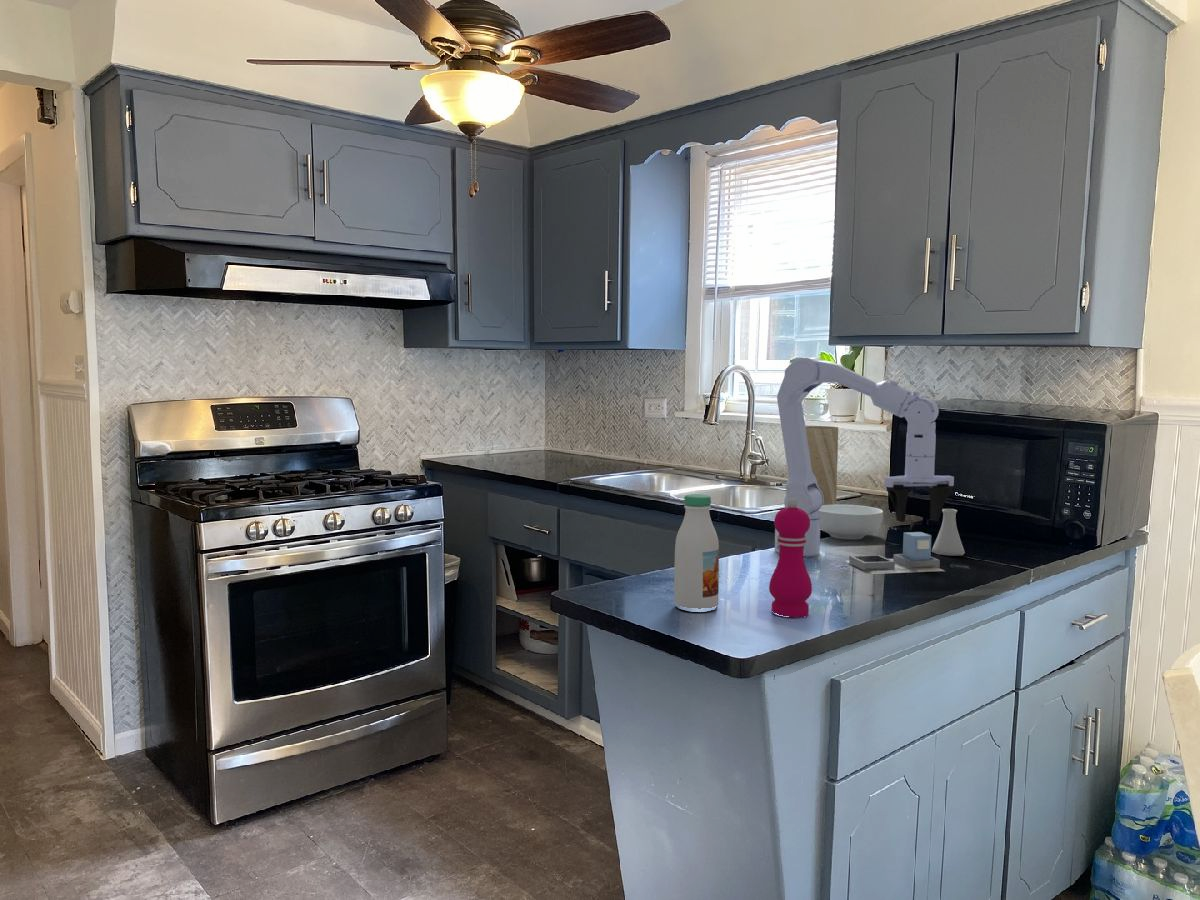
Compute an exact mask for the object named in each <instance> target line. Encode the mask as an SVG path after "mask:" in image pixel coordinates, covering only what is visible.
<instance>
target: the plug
mask: <svg viewBox="0 0 1200 900" xmlns="http://www.w3.org/2000/svg"><path fill="white" fill-rule="evenodd" d="M931 551H932V535H931V534H929V533H926V532H925V533H924V532H922V531H913V532H912V531H911V532H910V531H908V532H906V531H905V532H903V541H902V554H903V557H904V558H906V559H909V560H930V559H931V557H932V556H931V554H932V553H931Z"/></svg>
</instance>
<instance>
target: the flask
mask: <svg viewBox="0 0 1200 900" xmlns="http://www.w3.org/2000/svg"><path fill="white" fill-rule="evenodd" d="M941 513H942V514H943V515H942V516H943V517H942V523H941V526H940V529H939V531H938V534H937V537H936V539H935V541H934V543H933V546H932V547H931V552H932V553H934V554H937V555H940V556H941V555H942V556H949V557H950V556H951V557H952V556H953V557H956V556H964V554H965V553H966V551H965V549H964V546H963V542H962V540H961V538H960V534H959V531H958V527H957V521H956V520H957V518H956V515H957V513H958V510H957V509H954V508H942V511H941Z"/></svg>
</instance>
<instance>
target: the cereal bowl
mask: <svg viewBox="0 0 1200 900" xmlns="http://www.w3.org/2000/svg"><path fill="white" fill-rule="evenodd" d="M818 511H819V514H820V515H821V517H820V531H822V532H824V533H827V534H829V537H832V538H834V539H839V540H849V541H850V540H852V541H853V540H861V539H863V538H864V537H865V536H868V535H870V534H871V535H872V534H873V533H876V532H877V531H878V530H879V529H880V527H881V526H882V523H883V520H884V511H883V510H882V509H880V508H878V507H874V506H873V507H872V506H867V505H856V504H836V505H822V507H821V508H820V509H819V510H818Z"/></svg>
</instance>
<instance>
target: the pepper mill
mask: <svg viewBox="0 0 1200 900" xmlns="http://www.w3.org/2000/svg"><path fill="white" fill-rule="evenodd" d="M787 505H788V507H787V508H785V507H784V508H781V509H780V510H779V511H777V513H776V514H775V517H774V520H773V526H774V529H775V528H776V530H777V531H778V533H779V535H777V538H778V539H777V544H779V551H780V552H779V555H778V560H777V564H776V566H775V569H774V570H773V573H772V575H771V576H770V581H769V586H768V589H769V594H770V595H771V596H772V598H774V600H772V602H771V612H772V611H773V612H774V613H777V614H779V615H783V616H789V617H802V618H805V617H804V616H806V617H808V615H809V612H810V611H809V609H810V608H809V607H810V606H809V605H810V604H809V603H808V602H807V600H808V599H809V598H810V597H811V596H812V593H813V586H812V585H813V584H812V581H811V578H810V574H809V572H808V569H807V566H806V563H805V560H804V557H805V556H803V551H804V546H805V545H806V544H807V543H806V539H807V537H806V536H804V535H805V533H806V532H807V531H808V530H809V528H810V519H809V516H808V514H807V513H806V512H805V511H804V510H802V509H800V508H796V507H797V505H798V502H797V500H796V499H793V498H791V499H789V500H788V502H787Z"/></svg>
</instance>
